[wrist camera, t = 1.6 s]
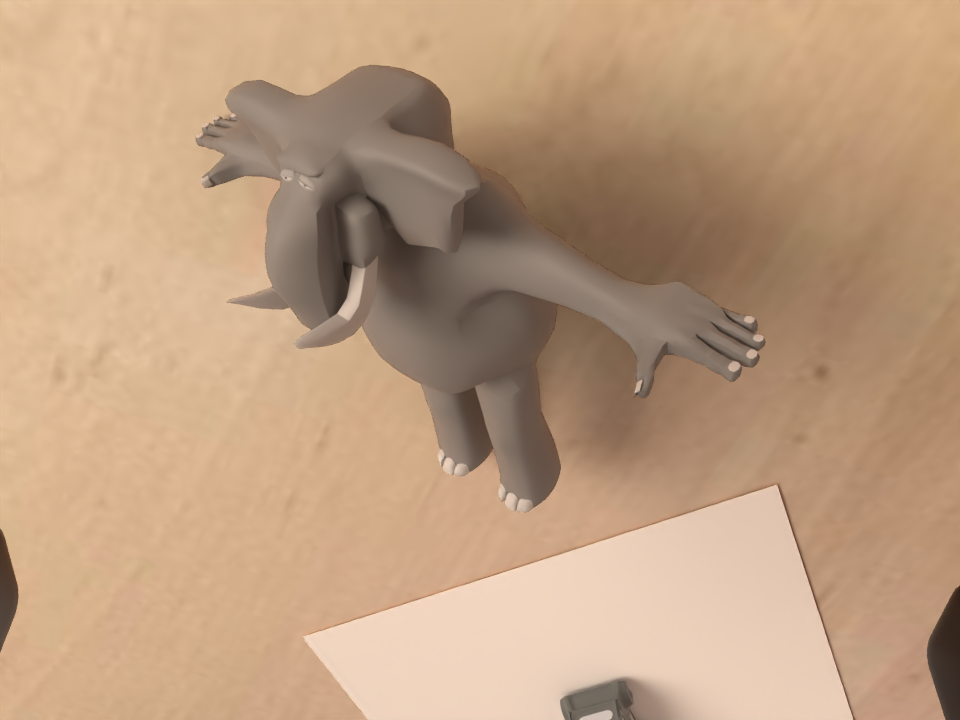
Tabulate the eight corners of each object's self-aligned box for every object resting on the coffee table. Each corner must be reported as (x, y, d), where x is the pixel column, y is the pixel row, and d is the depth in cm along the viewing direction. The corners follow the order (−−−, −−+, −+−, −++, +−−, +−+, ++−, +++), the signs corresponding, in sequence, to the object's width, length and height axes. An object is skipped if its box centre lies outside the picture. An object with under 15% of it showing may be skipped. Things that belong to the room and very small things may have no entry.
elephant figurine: (238, 455, 18) (-30, 102, 11) (414, 278, 21) (282, -104, 14) (639, 740, 13) (602, 427, 6) (807, 463, 16) (915, 15, 9)
